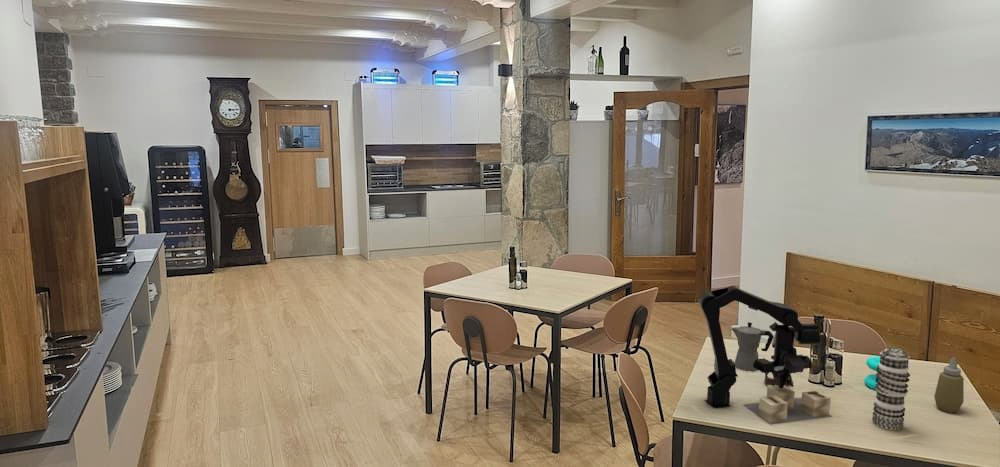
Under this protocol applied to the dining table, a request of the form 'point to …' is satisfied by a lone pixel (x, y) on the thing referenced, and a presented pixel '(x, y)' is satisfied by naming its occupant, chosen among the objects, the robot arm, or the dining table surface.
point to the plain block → (782, 394)
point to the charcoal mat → (792, 414)
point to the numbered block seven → (815, 403)
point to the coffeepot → (749, 345)
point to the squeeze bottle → (950, 388)
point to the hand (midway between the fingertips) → (780, 387)
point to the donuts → (871, 379)
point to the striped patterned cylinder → (891, 389)
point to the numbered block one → (773, 409)
